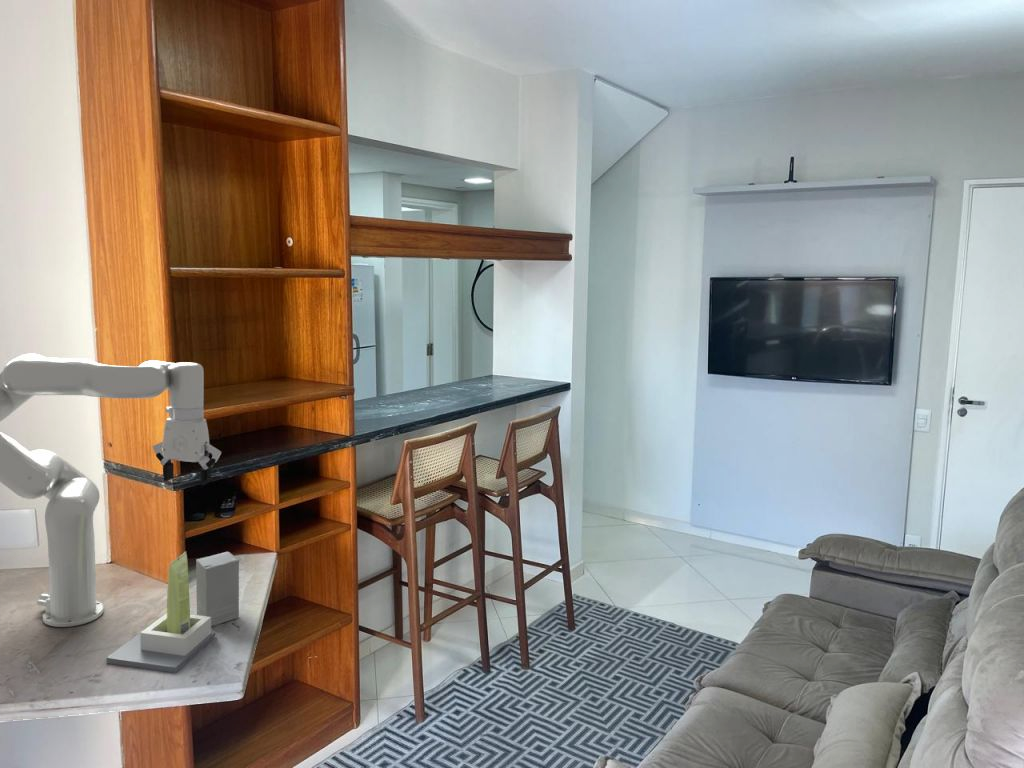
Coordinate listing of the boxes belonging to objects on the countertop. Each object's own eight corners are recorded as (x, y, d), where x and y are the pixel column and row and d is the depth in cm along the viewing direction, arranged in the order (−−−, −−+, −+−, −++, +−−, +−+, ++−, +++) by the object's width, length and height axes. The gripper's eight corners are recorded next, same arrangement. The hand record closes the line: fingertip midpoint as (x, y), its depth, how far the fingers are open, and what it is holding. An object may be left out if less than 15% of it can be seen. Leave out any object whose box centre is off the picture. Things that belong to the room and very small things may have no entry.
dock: (106, 662, 159) (105, 640, 158) (152, 628, 175) (151, 607, 174) (175, 672, 157) (175, 649, 156) (215, 636, 173) (215, 615, 172)
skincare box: (228, 609, 186) (228, 549, 184) (240, 620, 181) (241, 558, 179) (194, 618, 180) (194, 557, 178) (206, 630, 175) (206, 566, 173)
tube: (163, 636, 169) (162, 554, 166) (186, 630, 172) (186, 550, 169) (170, 646, 165) (169, 563, 162) (193, 640, 168) (193, 558, 165)
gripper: (144, 413, 177) (144, 482, 180) (211, 419, 175) (211, 489, 178) (163, 407, 185) (163, 474, 187) (228, 414, 182) (227, 481, 185)
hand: (186, 481), depth 182 cm, fingers open, 9 cm apart
